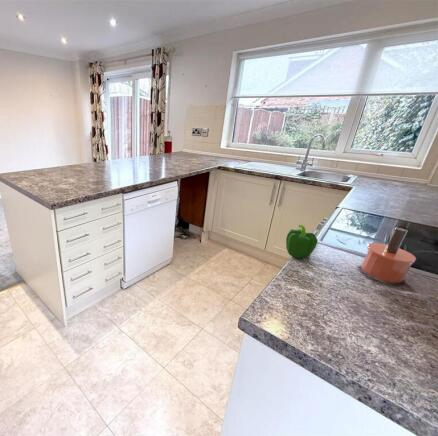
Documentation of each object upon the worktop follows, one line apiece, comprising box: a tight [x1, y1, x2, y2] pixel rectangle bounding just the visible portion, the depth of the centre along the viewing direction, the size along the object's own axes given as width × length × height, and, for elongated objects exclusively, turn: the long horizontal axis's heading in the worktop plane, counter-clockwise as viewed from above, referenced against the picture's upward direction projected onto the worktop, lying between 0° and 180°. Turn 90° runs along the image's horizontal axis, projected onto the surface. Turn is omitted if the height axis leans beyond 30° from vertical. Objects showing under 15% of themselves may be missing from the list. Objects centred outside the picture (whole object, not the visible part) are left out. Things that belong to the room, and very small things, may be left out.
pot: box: [360, 249, 413, 284], centre depth 71 cm, size 9×9×7 cm
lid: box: [366, 227, 417, 264], centre depth 68 cm, size 10×10×8 cm
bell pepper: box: [285, 224, 318, 259], centre depth 79 cm, size 8×8×10 cm
